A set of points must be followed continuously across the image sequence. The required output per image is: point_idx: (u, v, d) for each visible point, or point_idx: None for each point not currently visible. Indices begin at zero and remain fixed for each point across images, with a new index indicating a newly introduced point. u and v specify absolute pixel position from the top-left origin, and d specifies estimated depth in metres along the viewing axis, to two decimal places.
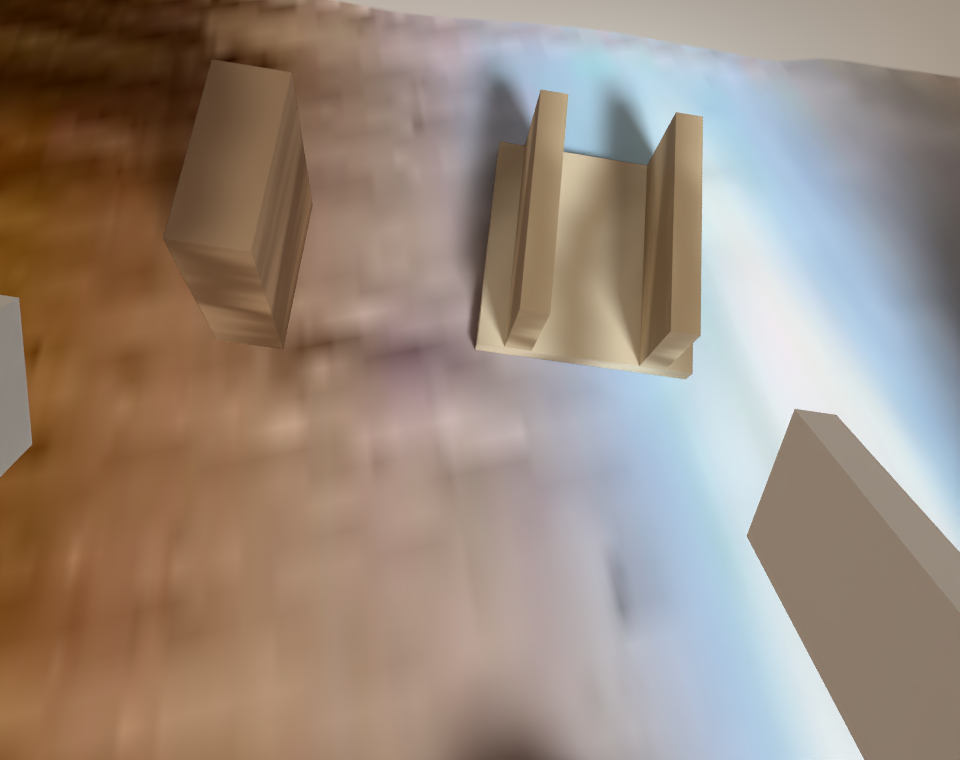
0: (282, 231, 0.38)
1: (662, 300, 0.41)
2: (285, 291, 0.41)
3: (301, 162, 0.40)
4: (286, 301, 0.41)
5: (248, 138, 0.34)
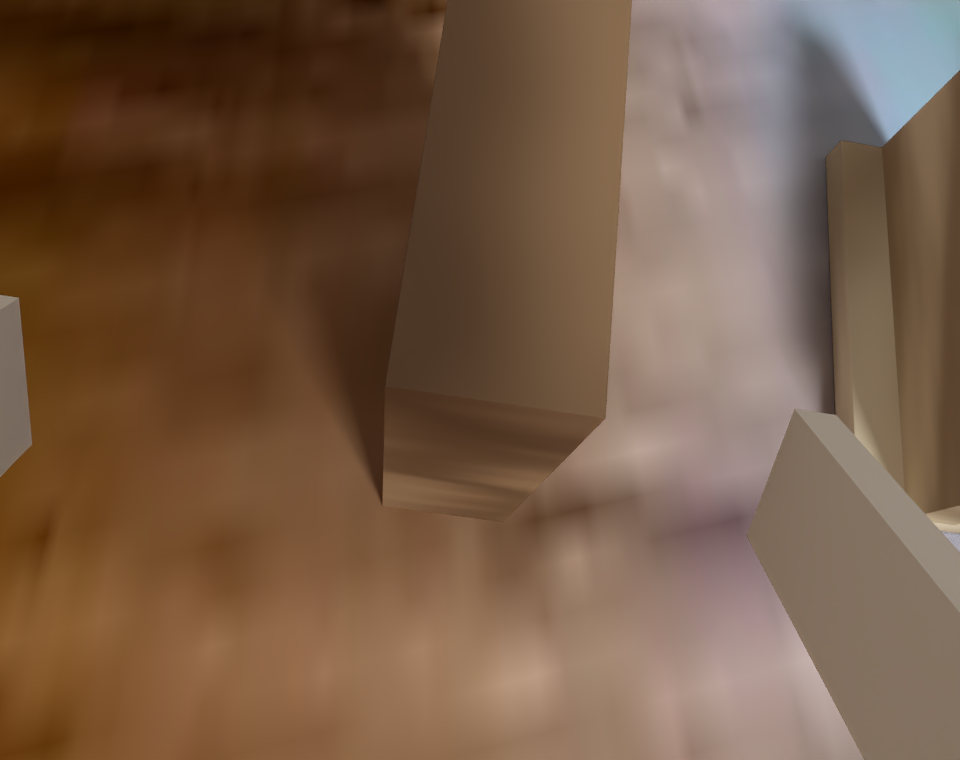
0: None
1: None
2: None
3: None
4: None
5: (560, 129, 0.14)
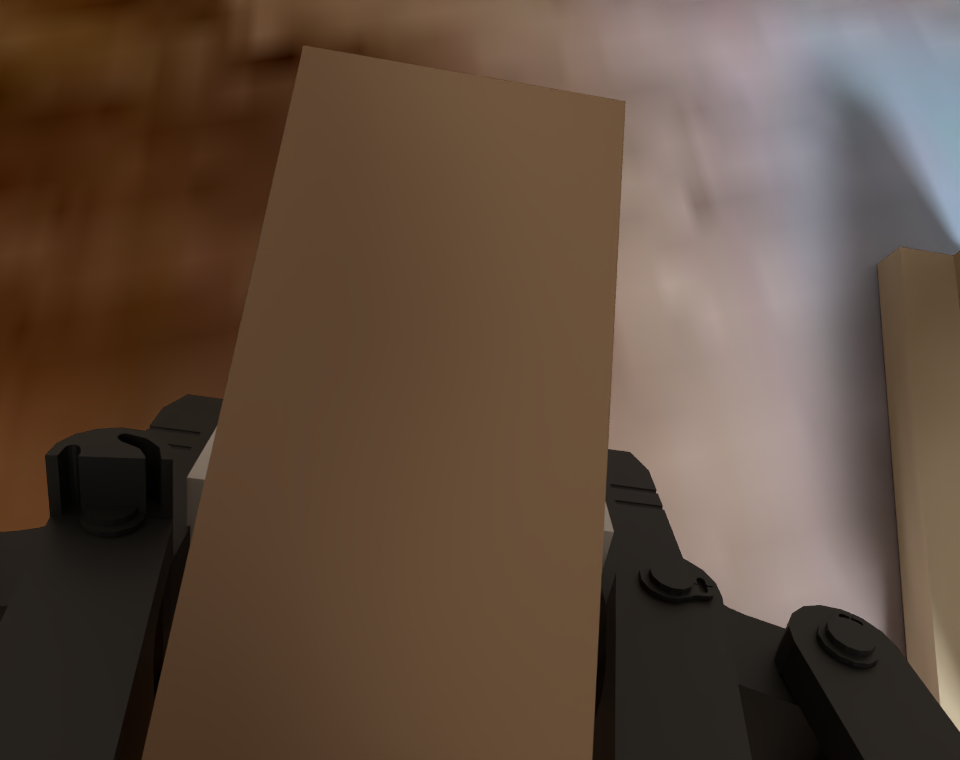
0: None
1: None
2: None
3: None
4: None
5: (487, 412, 0.07)
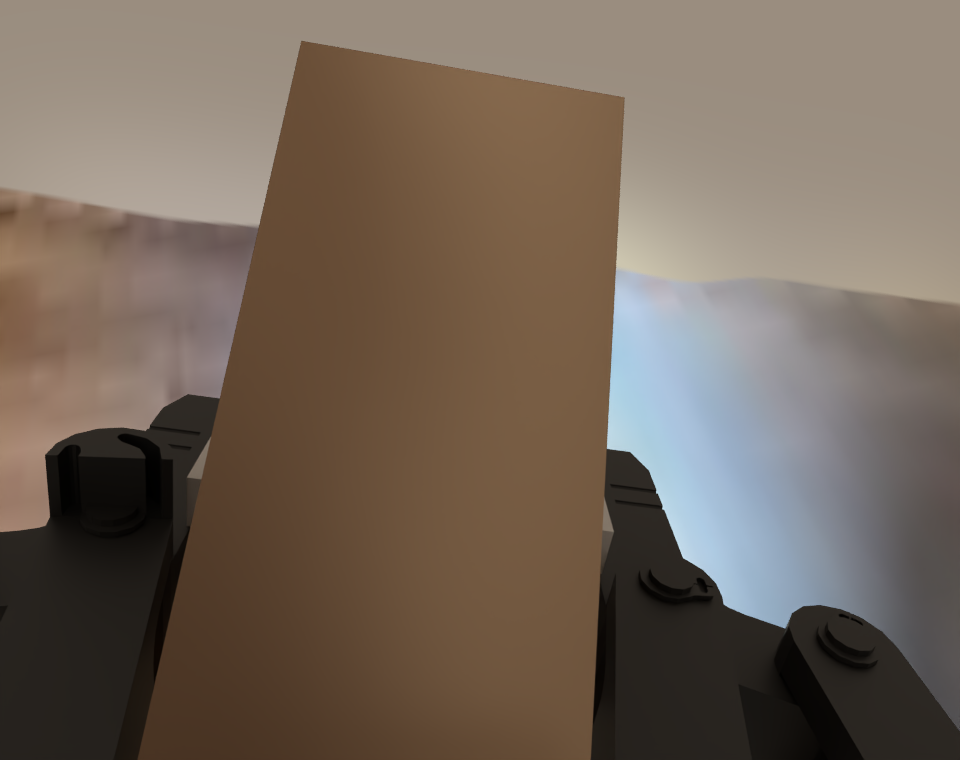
0: None
1: None
2: None
3: None
4: None
5: (486, 409, 0.07)
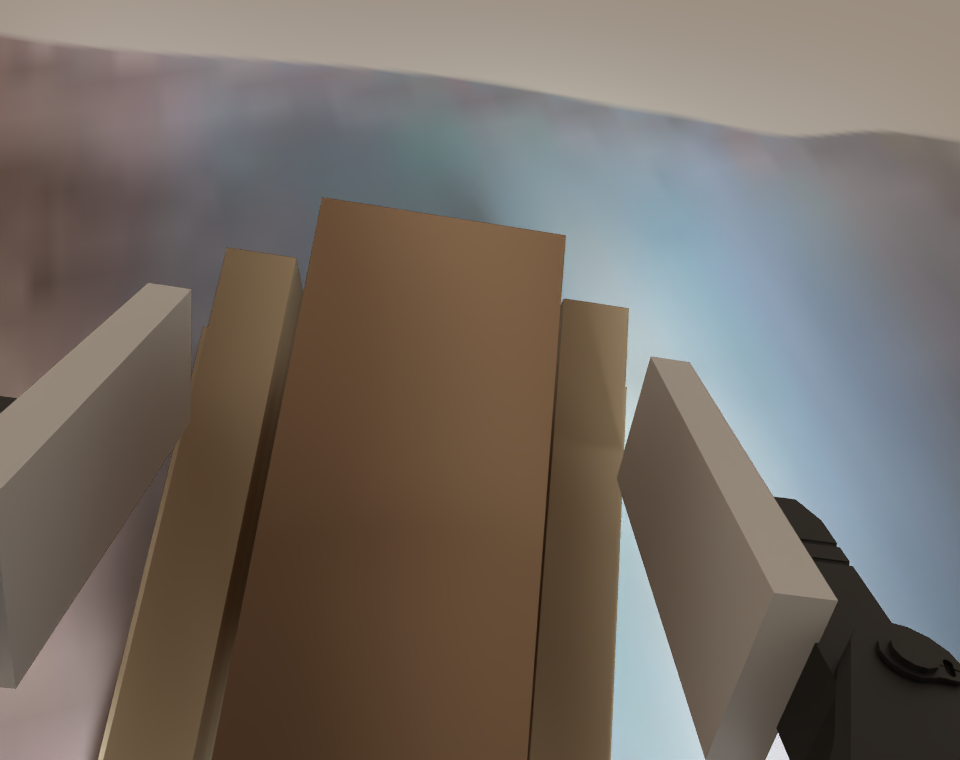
0: None
1: None
2: None
3: None
4: None
5: (458, 479, 0.10)
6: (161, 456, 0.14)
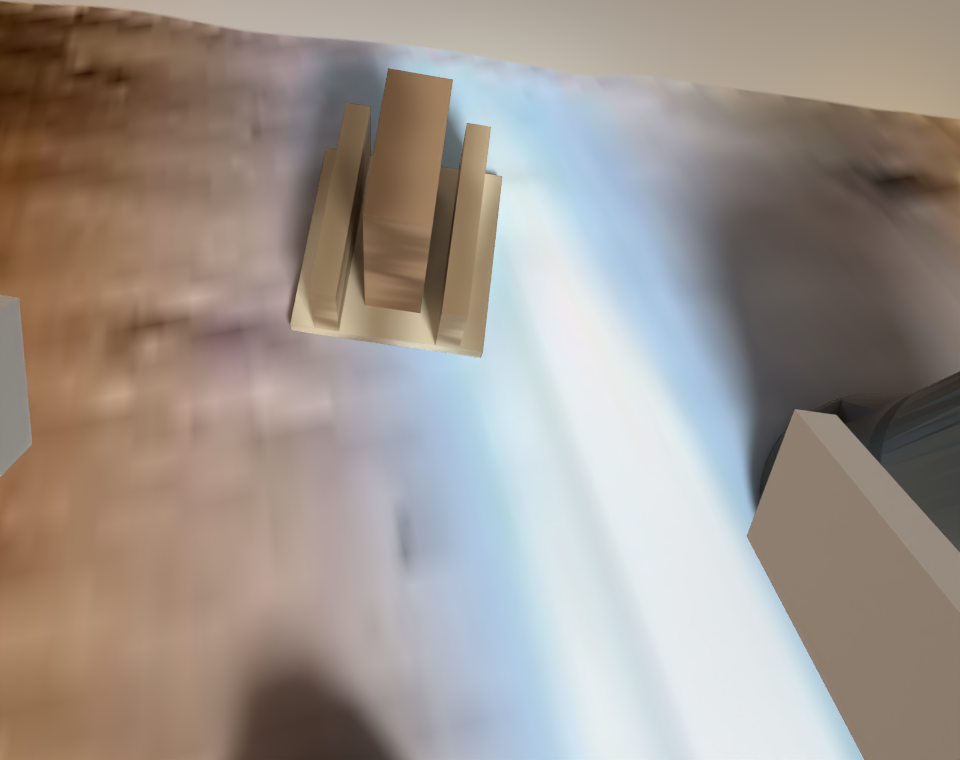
0: None
1: (444, 287, 0.47)
2: None
3: None
4: None
5: (423, 133, 0.41)
6: None
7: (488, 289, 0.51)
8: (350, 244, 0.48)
